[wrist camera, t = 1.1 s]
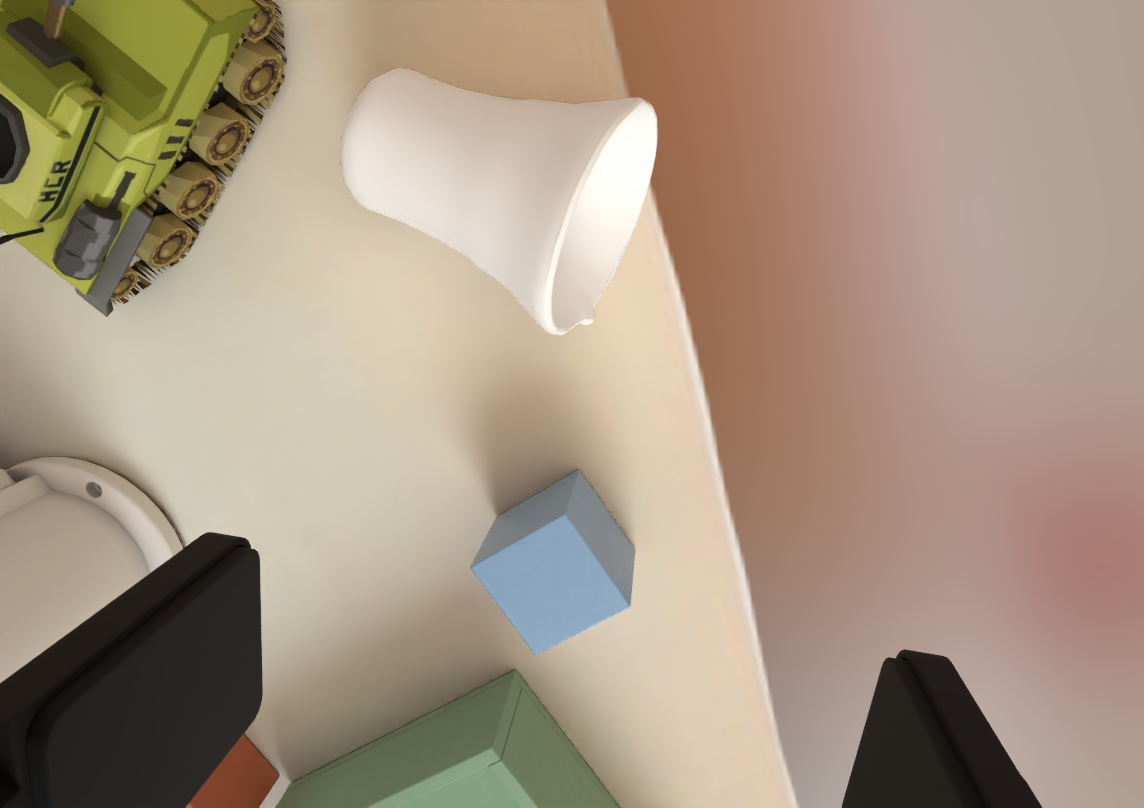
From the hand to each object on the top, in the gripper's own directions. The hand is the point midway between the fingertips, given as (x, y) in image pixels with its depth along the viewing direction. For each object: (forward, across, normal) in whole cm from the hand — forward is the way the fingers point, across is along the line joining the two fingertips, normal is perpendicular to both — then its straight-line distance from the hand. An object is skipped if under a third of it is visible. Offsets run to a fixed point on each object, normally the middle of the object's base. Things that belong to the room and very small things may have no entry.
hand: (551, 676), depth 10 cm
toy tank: (+22, +22, -8) cm, 32 cm away
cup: (+20, +11, -8) cm, 24 cm away
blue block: (+23, +2, +10) cm, 25 cm away
